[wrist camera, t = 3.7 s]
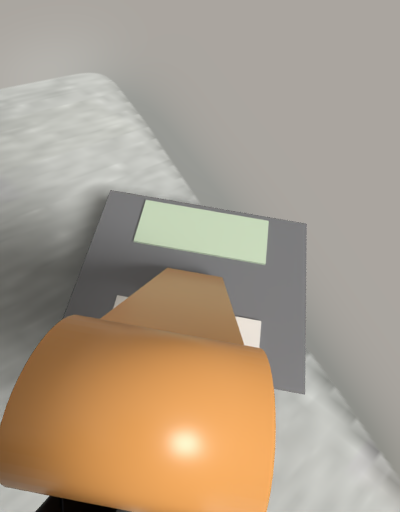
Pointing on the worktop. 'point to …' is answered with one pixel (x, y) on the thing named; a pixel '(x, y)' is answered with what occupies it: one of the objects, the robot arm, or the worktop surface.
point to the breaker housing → (205, 269)
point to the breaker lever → (146, 406)
